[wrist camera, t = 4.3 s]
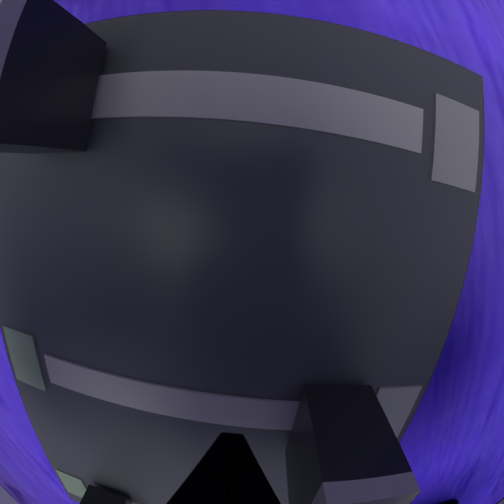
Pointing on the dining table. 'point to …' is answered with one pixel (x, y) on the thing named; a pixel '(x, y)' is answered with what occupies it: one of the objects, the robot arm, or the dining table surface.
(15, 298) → the panel
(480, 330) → the dining table surface
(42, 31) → the block
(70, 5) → the dining table surface
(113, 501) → the breaker far
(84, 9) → the dining table surface
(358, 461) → the block
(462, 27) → the dining table surface
